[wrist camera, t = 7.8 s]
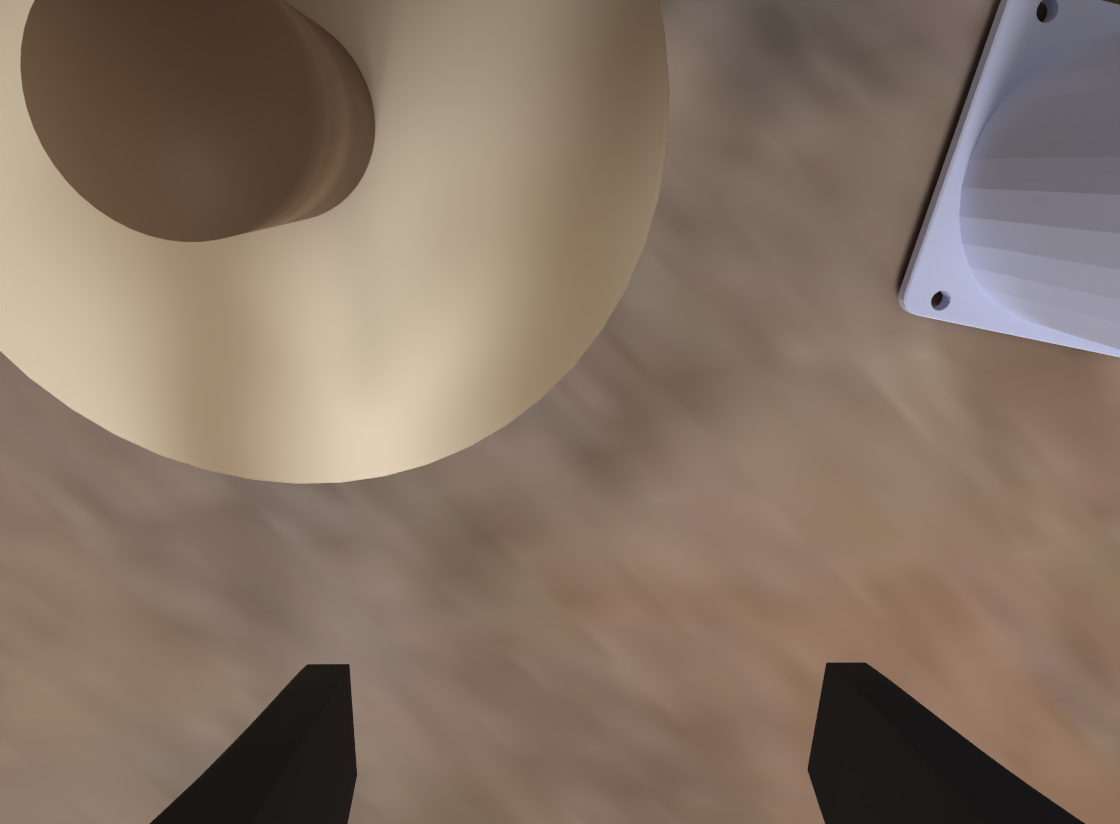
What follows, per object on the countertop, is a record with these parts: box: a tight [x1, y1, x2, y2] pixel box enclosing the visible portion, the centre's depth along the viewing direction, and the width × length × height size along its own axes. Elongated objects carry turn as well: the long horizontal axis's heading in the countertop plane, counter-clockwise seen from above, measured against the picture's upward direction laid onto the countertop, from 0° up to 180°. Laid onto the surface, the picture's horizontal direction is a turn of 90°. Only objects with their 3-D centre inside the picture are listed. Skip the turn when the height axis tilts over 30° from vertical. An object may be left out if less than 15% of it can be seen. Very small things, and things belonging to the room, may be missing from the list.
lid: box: [0, 0, 669, 483], centre depth 11 cm, size 14×14×5 cm
